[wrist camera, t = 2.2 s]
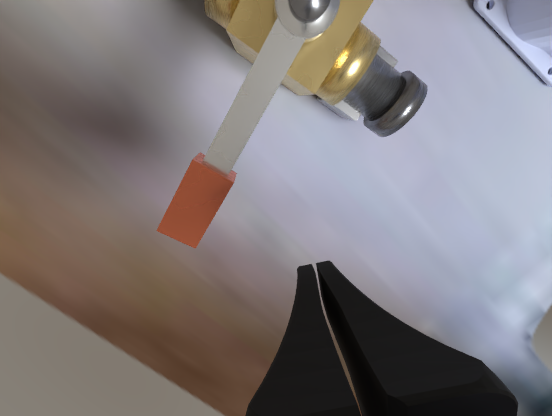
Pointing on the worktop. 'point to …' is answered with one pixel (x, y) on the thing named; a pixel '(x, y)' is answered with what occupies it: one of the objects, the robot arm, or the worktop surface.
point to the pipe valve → (332, 63)
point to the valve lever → (243, 118)
